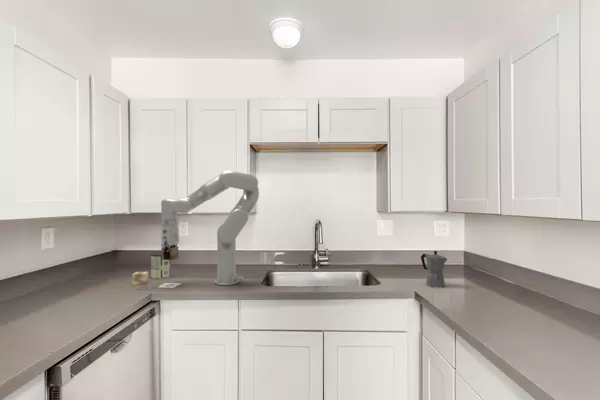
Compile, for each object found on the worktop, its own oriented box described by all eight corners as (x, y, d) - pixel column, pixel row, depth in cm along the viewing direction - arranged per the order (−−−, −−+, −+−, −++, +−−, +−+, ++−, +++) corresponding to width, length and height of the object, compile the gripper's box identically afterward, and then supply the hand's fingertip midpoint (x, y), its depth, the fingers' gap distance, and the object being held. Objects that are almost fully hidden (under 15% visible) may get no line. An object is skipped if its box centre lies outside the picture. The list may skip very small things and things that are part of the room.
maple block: (148, 282, 182) (148, 271, 182) (144, 285, 176) (144, 274, 176) (136, 283, 181) (136, 271, 181) (132, 285, 175) (132, 274, 175)
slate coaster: (159, 286, 173) (159, 285, 173) (151, 291, 165) (151, 289, 165) (145, 286, 174) (145, 285, 174) (135, 290, 166) (135, 289, 166)
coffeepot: (452, 287, 174) (452, 251, 174) (441, 289, 169) (441, 253, 168) (426, 280, 187) (426, 248, 187) (415, 283, 181) (415, 249, 181)
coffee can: (156, 275, 199) (156, 251, 199) (173, 275, 198) (173, 251, 198) (147, 279, 189) (147, 254, 189) (164, 280, 188) (164, 254, 188)
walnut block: (178, 257, 178) (178, 246, 178) (172, 260, 172) (172, 248, 172) (167, 257, 178) (167, 246, 178) (161, 259, 172) (161, 248, 172)
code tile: (181, 284, 179) (181, 283, 179) (173, 288, 170) (173, 287, 170) (165, 283, 180) (165, 282, 180) (156, 288, 171) (156, 287, 171)
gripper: (168, 224, 166) (168, 261, 166) (184, 221, 183) (184, 255, 183) (153, 224, 167) (154, 261, 167) (170, 221, 184) (171, 255, 184)
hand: (170, 257), depth 175 cm, fingers closed on walnut block, 6 cm apart
